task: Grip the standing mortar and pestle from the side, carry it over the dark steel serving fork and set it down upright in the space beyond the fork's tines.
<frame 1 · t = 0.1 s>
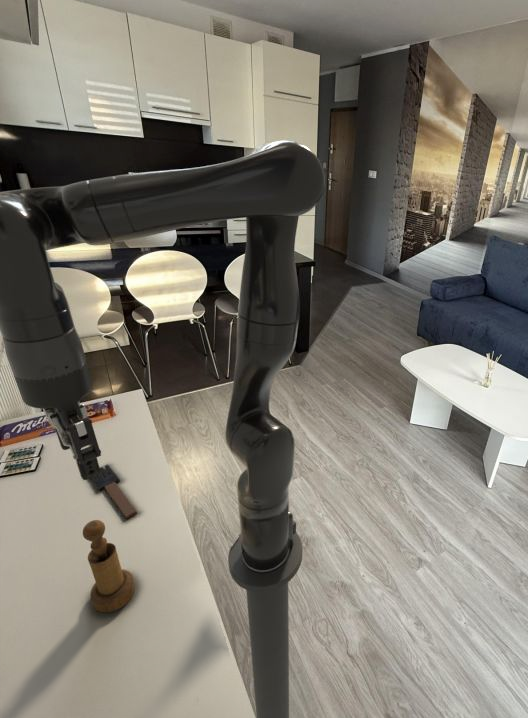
hand: (80, 460, 57), 31 cm above the table, tool pointing down, fingers open, 8 cm apart
mortar and pestle: (114, 594, 71), on the table
serving fork: (115, 493, 90), on the table
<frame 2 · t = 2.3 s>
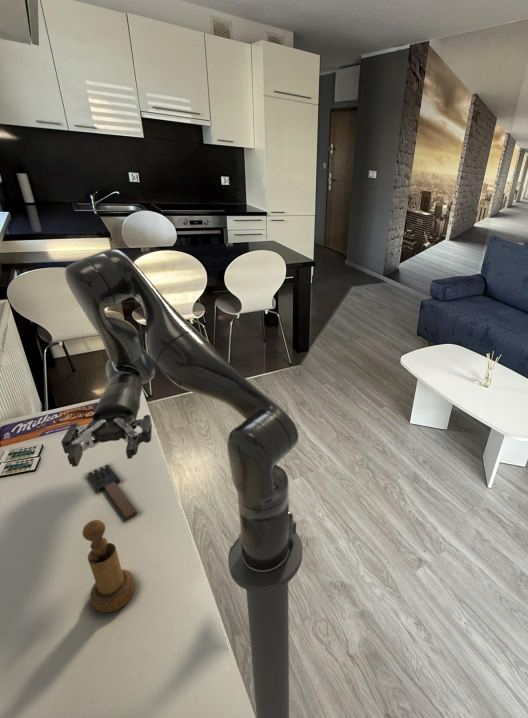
hand: (101, 458, 70), 22 cm above the table, tool horizontal, fingers open, 8 cm apart
nothing on the table moved.
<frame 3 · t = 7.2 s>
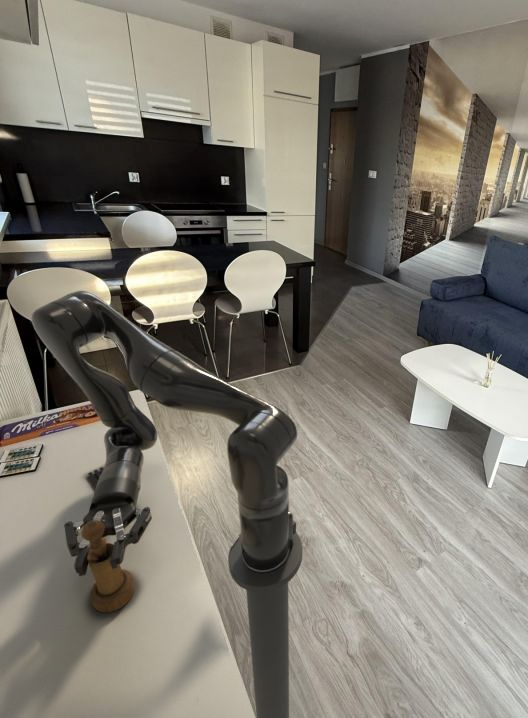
hand: (97, 568, 63), 11 cm above the table, tool horizontal, fingers closed on mortar and pestle, 4 cm apart
mortar and pestle: (114, 594, 71), on the table, touching gripper
when the fingers open (11 cm above the table, at t = 16.6 s): mortar and pestle stays where it is, on the table.
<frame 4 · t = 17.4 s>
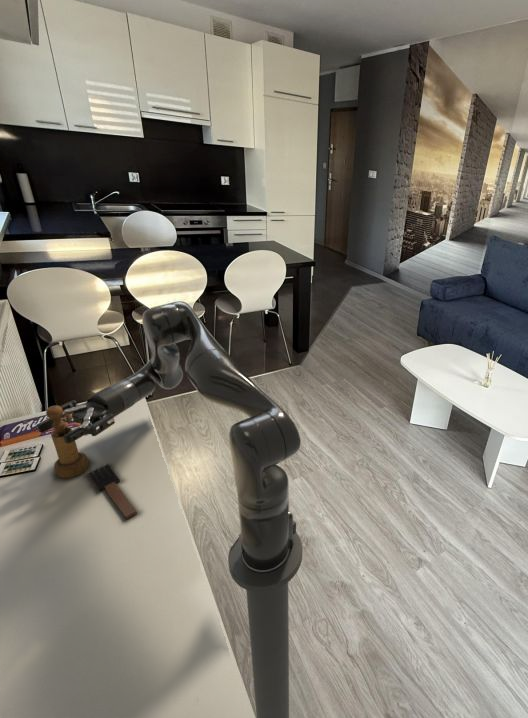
hand: (51, 434, 89), 12 cm above the table, tool horizontal, fingers open, 8 cm apart
mortar and pestle: (73, 469, 96), on the table
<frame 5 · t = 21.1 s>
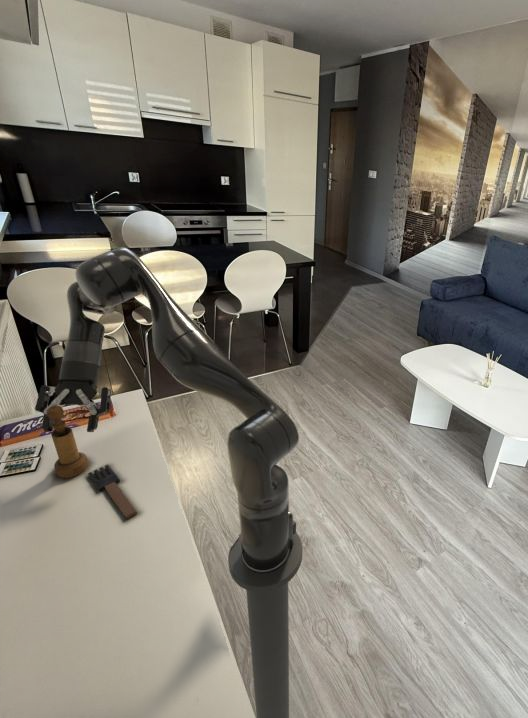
hand: (69, 431, 90), 12 cm above the table, tool tilted 40°, fingers open, 8 cm apart
nothing on the table moved.
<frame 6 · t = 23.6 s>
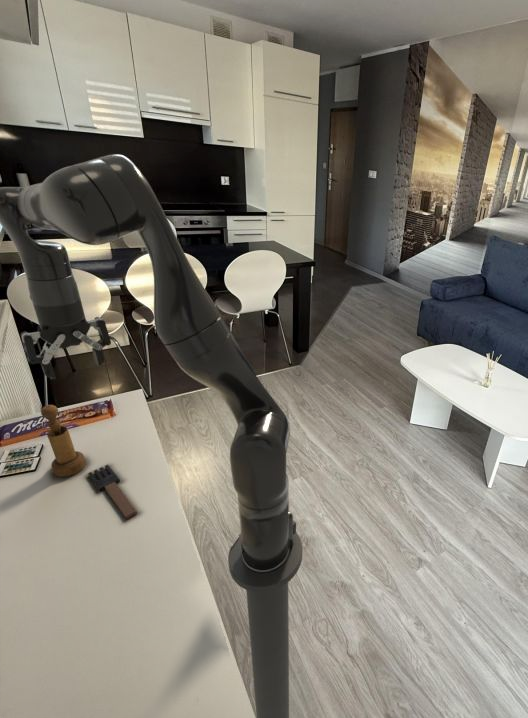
hand: (76, 370, 84), 28 cm above the table, tool pointing down, fingers open, 8 cm apart
at the end: mortar and pestle inside the target area on the table beside the serving fork (1.6 cm from its centre), on the table; mortar and pestle tilted 1°; the gripper is holding nothing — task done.
